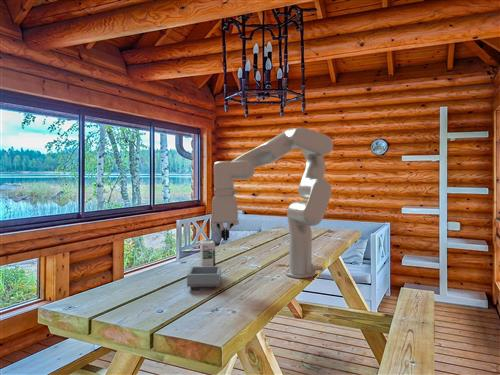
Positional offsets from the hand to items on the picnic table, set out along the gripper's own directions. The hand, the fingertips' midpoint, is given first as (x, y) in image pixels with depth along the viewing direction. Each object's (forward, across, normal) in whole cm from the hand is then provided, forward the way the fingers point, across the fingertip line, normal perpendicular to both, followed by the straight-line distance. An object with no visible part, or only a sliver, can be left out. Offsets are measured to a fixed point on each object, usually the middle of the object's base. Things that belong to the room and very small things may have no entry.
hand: (225, 240), depth 146 cm
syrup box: (+18, +9, -16) cm, 26 cm away
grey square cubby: (+18, +9, 0) cm, 20 cm away
